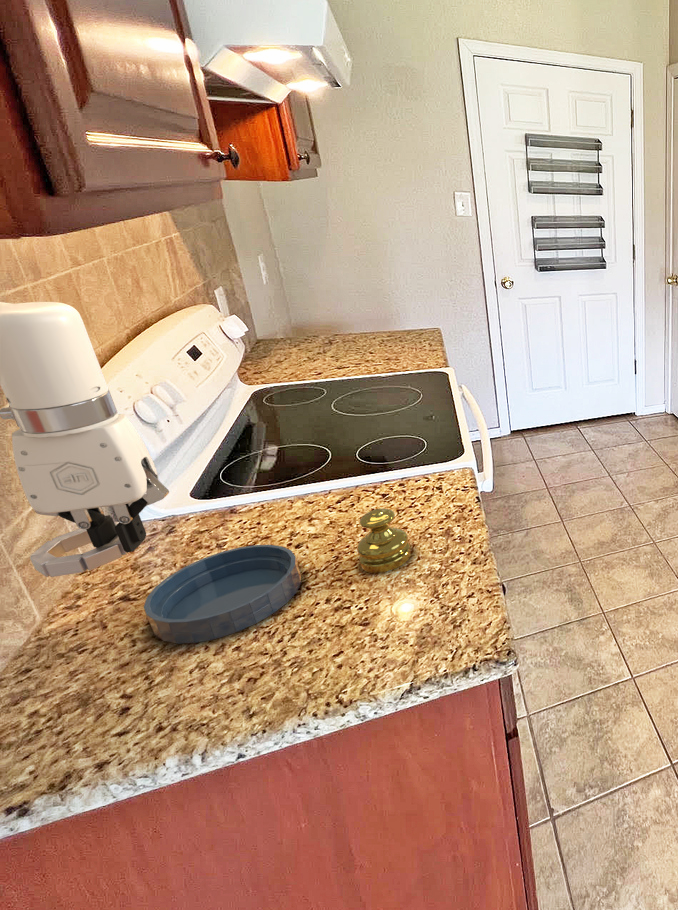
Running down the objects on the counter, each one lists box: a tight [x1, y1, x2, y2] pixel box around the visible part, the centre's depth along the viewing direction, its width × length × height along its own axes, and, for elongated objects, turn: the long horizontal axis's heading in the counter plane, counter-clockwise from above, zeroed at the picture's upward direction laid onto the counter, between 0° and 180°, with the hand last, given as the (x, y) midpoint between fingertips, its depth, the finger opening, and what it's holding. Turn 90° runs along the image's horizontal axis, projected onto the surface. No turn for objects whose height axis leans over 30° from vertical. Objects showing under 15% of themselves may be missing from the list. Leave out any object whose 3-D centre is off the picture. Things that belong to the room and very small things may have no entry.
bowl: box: [143, 544, 302, 645], centre depth 85 cm, size 17×17×4 cm
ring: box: [29, 521, 128, 578], centre depth 70 cm, size 8×8×2 cm
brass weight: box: [356, 508, 412, 574], centre depth 94 cm, size 7×7×10 cm
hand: (123, 546), depth 71 cm, fingers closed on ring, 1 cm apart
